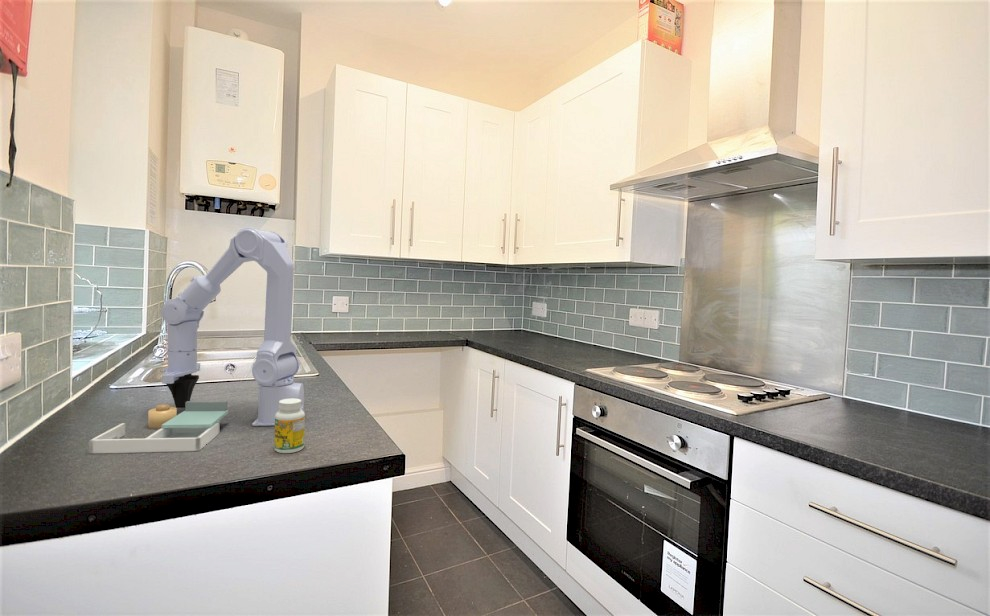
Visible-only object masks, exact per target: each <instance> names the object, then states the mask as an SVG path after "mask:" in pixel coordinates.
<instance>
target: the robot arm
mask: <svg viewBox="0 0 990 616" xmlns="http://www.w3.org/2000/svg"><path fill="white" fill-rule="evenodd" d="M253 261H254V262H255V263H257V264H258V265H259V266H260V267H261V268H262V269H263V270H264V271H265V272H266V292H265V293H266V294H265V295H266V296H265V311H264V312H265V314H264V331H263V333H264V335H263V342H262V344H261V345H260V346H259V348H258V349H257V351H256V358H255V361H254V363H253V364H252V367H251V373H252V377H253V379H254V380H255V381H256V382H257V386H258V404H257V405H258V407H257V410H258V411H257V412H258V415H257V418H256V419H255V420H254V421H253V422H252V423H251V426H253V427H254V426H255V427H256V426H257V427H258V426H261V427H262V426H265V427H266V426H270V427H271V426H275V415H276V413H277V412H278V411H280V409H279V401H280V400H283V399H290V398H295V399H300V400H301V408H300V409H301V410H303V411H304V412H305V410H304V408H305V405H304V404H305V403H304V401H305V387H304V383H302V382H301V383H300V382H294V380H295V375H297V374H298V372H299V370H300V360H299V358H298V356H297V354H298V353H297V347H296V346H295V344H293V342H292V341H291V336H292V335H291V332H292V312H293V299H294V298H293V295H294V276H295V274H294V273H295V272H294V271H295V265H294V261H293V259H292V256H291V254H290V253H289V249H288V241H286V239H285V238H283V236H281V234H280V233H277V232H275V231H266V230H260V229H256V228H254V227H243V228H241V229H239V231H238V232H237V233H236V235H235V236H233V237H232V238H231V239H230V241H229V247H228V248H227V249H226V250H225V252H224V253H222V255H221V256H220V258H218V260H217V261H216V262H215V263H214V265H213V266H212V267H211V269H210V270H209V271H208V272H207V273H206V274H205V275H204V274H203V275H202V274H201V275H196V276H194V277H192V278H191V280H190V282H191V283H190V284H189V285H188V286H187V287H186V288H185V289H184V290H183V291H181V292H179V294H178V295H177V297H175V298H169V299H167V300H165V301H164V303H163V305H162V307H161V311H160V312H161V317H162V319H163V320H164V322H166V323H167V367H164V368H162V369H161V373H164V374H161V375H162V376H161V379H162V380H161V384H162V385H166V386H167V387H168V389H169V391H170V394H171V395H172V398H173V402H174V405H175V406H174V407H176V408H177V409H185V402H187V401H191V398H192V394H193V391H194V388H195V386H196V384H197V382H198V381H199V379H200V375H197V374H195V373H197V372H200V371H201V362H198V330H199V328H200V321H202V319H203V317H204V314H205V311H204V309H205V308H206V307H207V306H208V305H209V304H211V303H212V301H214V299H215V298H216V297H217V296H218V295H219V294H220V293H221V291H222V290H221V284H222V283H223V282H224V281H225V280H227V279H228V278H229V277H230V276H231V275H232V274H234V272H235V271H236V270H238V268H240V267H241V266H242V265H243V264H244V263H248V262H253Z"/></svg>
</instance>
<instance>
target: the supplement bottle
mask: <svg viewBox="0 0 990 616" xmlns="http://www.w3.org/2000/svg"><path fill="white" fill-rule="evenodd" d="M300 408H301V400H300V399H295V398H290V399H283V400H280V401H279V409H280V411H278V412H277V413H276V415H275V425H274V451H275V452H277V453H280V454H293V453H297V452H299V451H302V450H303V449H304V448H305V441H306V440H305V437H306V436H305V435H306V434H305V432H306V430H305V429H306V427H305V425H306V413H305V410H304V411H303V410H301V409H300Z"/></svg>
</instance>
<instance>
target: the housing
mask: <svg viewBox="0 0 990 616" xmlns="http://www.w3.org/2000/svg"><path fill="white" fill-rule="evenodd" d="M220 424H221V422H220V421H218V422H217V423H215V424H214V425H213V426H212V427H195V428H161V429H157V430H156V431H154V432H153V433H151V434H150V435H149V436H147V437H145V438H122V437H124V436H126V423H125V422H124V423H122V422H121V423H120V424H118V425H116V426H114V427H112V428H110V429H108V430H106V431H105V432H103V433H101V434H99V435H97V436H95V437H93V438H92V439H89V441H88V454H121V453H122V454H125V453H126V454H128V453H129V454H130V453H164V452H166V453H167V452H170V453H171V452H173V453H174V452H175V453H176V452H200V451H201V450H203V448H204V447H206V446H207V445H208V444H209V443H210V442H211V441H212V440H213V439H215V438H216V437H218V436H219V434H220V428H221V427H220V426H221V425H220ZM206 444H207V445H206Z"/></svg>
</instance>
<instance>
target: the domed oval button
mask: <svg viewBox="0 0 990 616" xmlns="http://www.w3.org/2000/svg"><path fill="white" fill-rule="evenodd" d="M177 412H178V408H176V406H170V404H169V403H160V404H157V405H155V407H154V408H151V409H149V410H148V411H147V414H148V417H147V418H148V419H147V421H148V423H147V427H148V429H149V430H159V429H161V428H162V424H164V423H166V422H167V421H169V420H170V419H172V418H174V417H175V416H177V415H178V413H177Z"/></svg>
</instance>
